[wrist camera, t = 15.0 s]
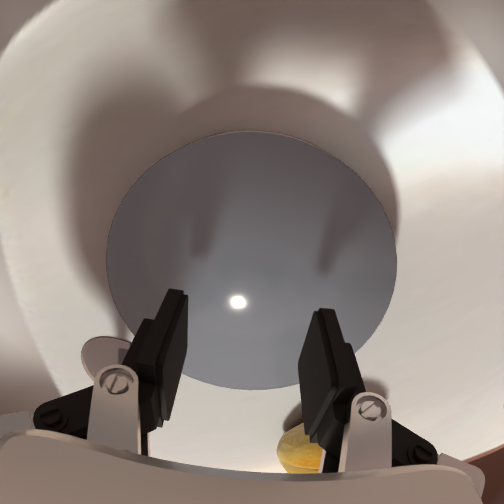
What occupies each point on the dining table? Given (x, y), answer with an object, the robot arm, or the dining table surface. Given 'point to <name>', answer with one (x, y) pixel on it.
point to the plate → (252, 253)
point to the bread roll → (299, 452)
